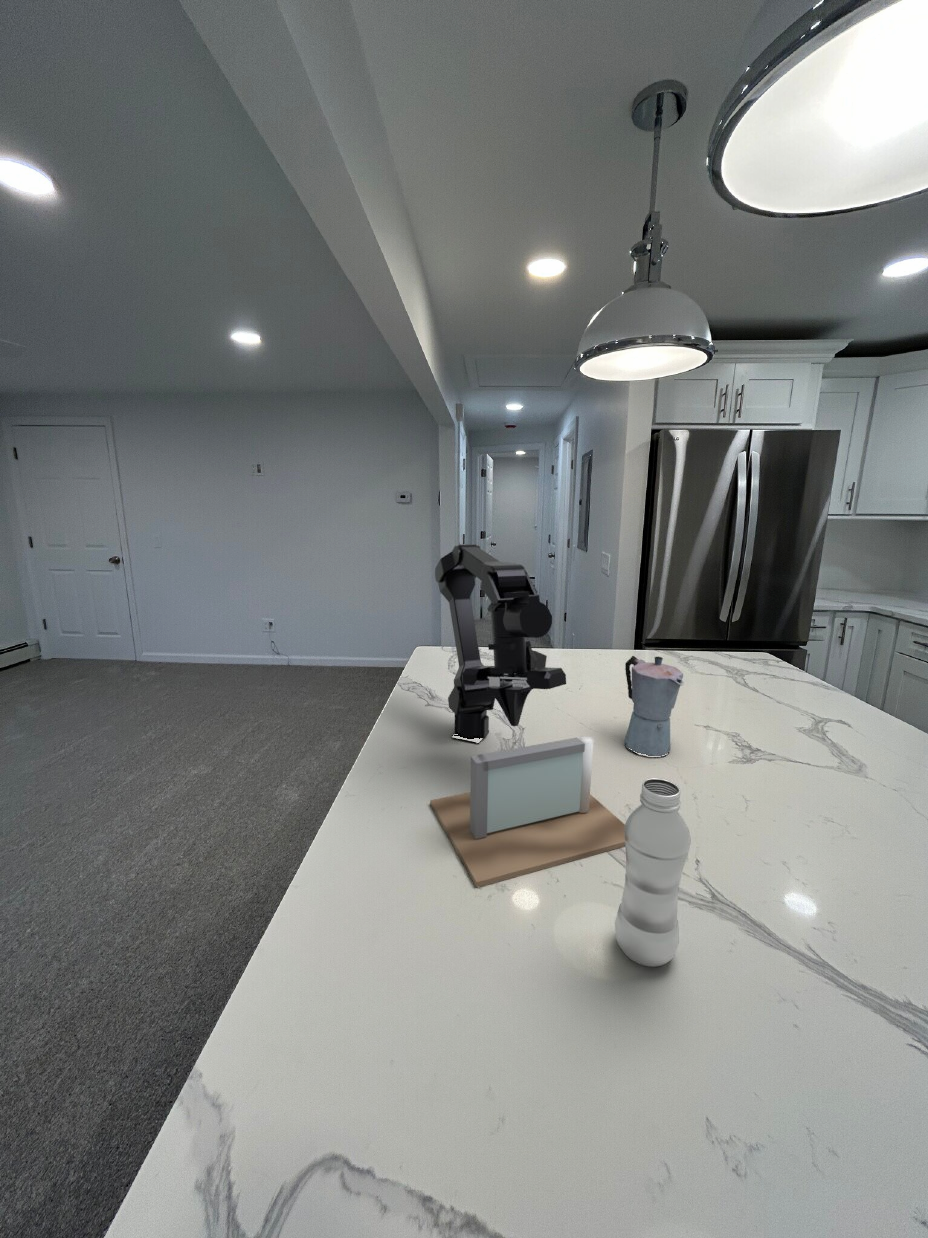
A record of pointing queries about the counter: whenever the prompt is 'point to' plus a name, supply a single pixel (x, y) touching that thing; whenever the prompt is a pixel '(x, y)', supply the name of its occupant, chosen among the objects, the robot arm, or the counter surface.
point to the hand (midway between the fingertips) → (514, 725)
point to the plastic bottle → (653, 875)
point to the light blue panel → (529, 784)
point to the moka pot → (651, 705)
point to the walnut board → (527, 840)
